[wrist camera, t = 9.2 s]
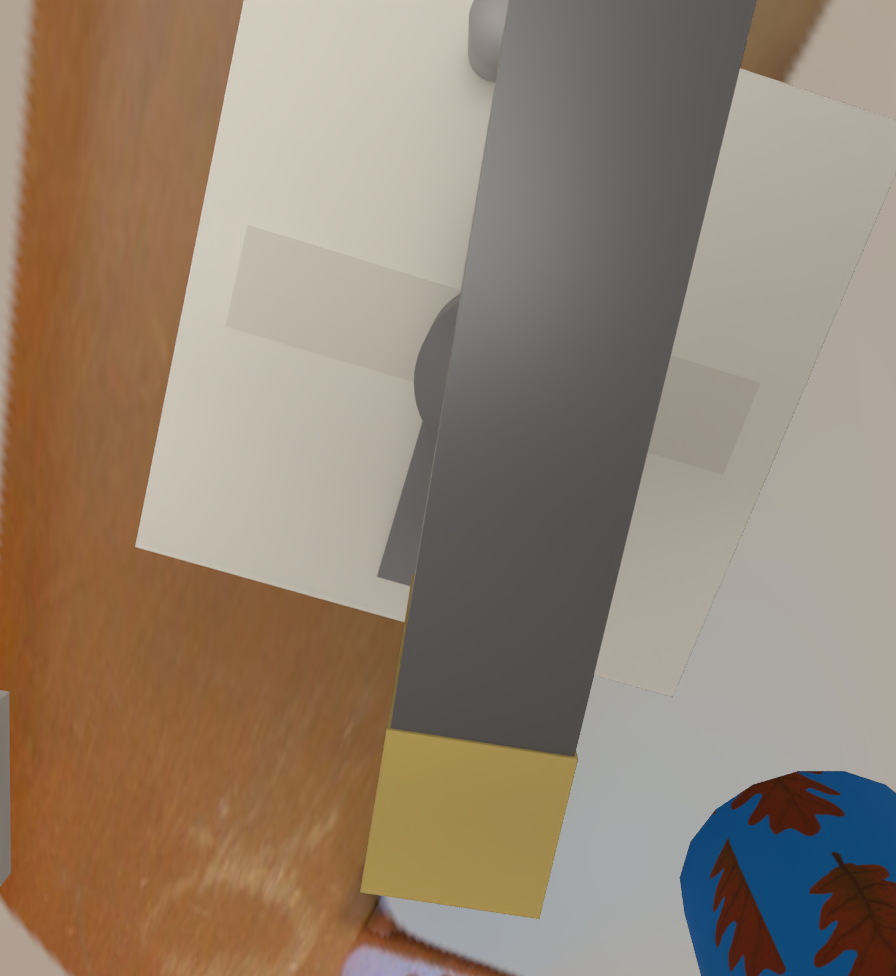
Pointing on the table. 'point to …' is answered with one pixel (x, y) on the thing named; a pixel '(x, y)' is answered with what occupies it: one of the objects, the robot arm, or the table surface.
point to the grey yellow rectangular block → (545, 430)
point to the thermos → (796, 879)
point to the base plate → (412, 204)
